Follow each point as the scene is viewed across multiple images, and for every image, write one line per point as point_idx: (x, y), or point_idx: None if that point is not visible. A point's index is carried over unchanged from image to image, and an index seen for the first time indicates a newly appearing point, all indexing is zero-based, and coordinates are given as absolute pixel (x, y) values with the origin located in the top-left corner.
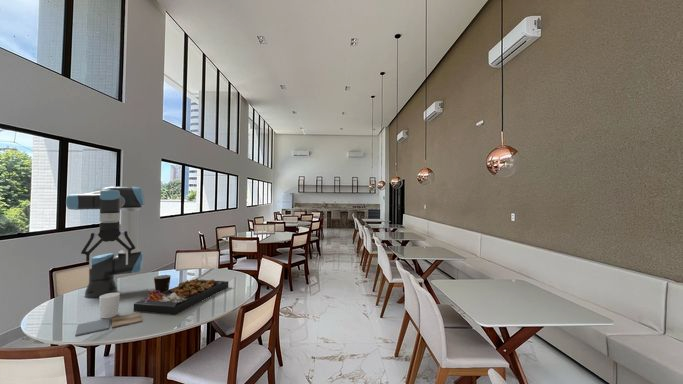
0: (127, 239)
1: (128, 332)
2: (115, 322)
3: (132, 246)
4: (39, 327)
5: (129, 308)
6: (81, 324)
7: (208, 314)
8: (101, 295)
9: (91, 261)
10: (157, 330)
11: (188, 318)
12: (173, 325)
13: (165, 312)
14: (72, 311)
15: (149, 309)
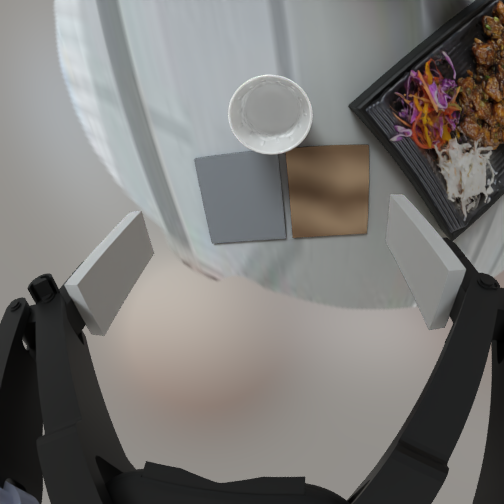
0: (489, 464)
1: (329, 284)
2: (299, 206)
3: (502, 358)
4: (100, 120)
5: (332, 62)
6: (204, 165)
7: (483, 272)
8: (233, 98)
9: (130, 290)
10: (382, 304)
11: None
12: None
13: (428, 207)
14: (142, 2)
15: (397, 161)
